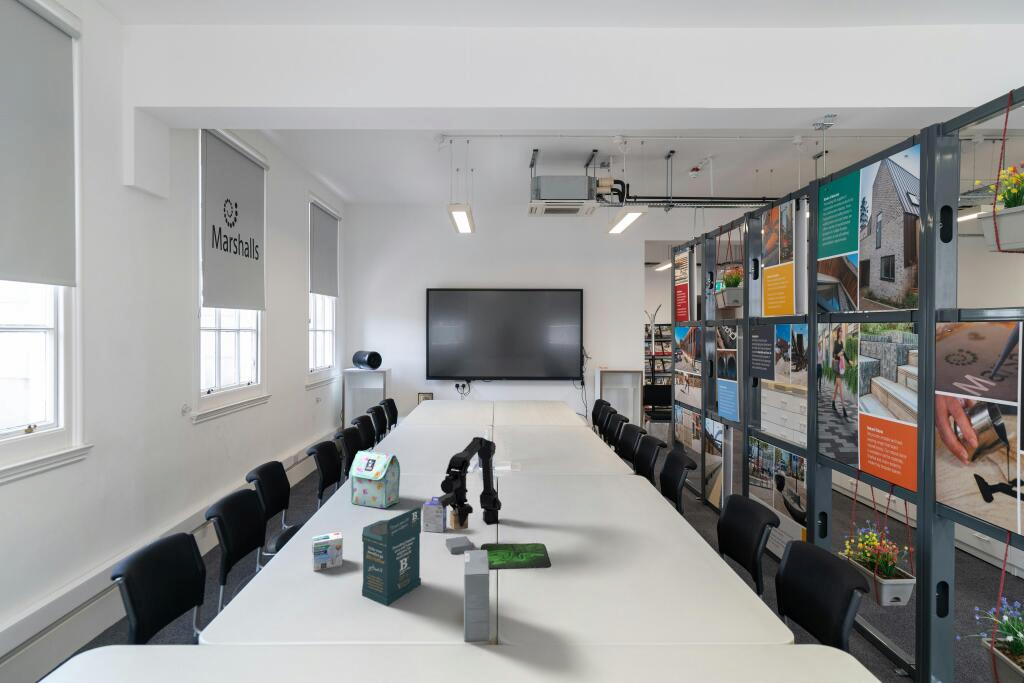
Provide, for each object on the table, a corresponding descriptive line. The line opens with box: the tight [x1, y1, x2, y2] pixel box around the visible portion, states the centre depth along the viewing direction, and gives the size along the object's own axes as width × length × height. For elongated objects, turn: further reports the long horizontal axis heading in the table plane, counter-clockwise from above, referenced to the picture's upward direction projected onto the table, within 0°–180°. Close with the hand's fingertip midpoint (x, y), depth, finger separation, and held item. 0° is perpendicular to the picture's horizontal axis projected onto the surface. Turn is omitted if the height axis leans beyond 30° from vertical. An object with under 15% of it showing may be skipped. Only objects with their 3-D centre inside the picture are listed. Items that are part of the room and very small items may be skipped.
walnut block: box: [449, 509, 469, 531], centre depth 202 cm, size 6×6×6 cm
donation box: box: [361, 506, 422, 607], centre depth 170 cm, size 16×16×28 cm
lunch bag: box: [349, 450, 401, 509], centre depth 255 cm, size 23×16×27 cm
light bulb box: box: [311, 531, 344, 572], centre depth 187 cm, size 11×7×11 cm, turn 117°
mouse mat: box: [480, 542, 552, 570], centre depth 196 cm, size 27×22×1 cm
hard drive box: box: [463, 549, 490, 642], centre depth 149 cm, size 16×8×20 cm, turn 5°
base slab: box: [445, 535, 474, 555], centre depth 203 cm, size 9×9×3 cm
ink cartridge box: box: [422, 496, 448, 533], centre depth 221 cm, size 10×6×14 cm, turn 81°
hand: (459, 523), depth 203 cm, fingers closed on walnut block, 6 cm apart
